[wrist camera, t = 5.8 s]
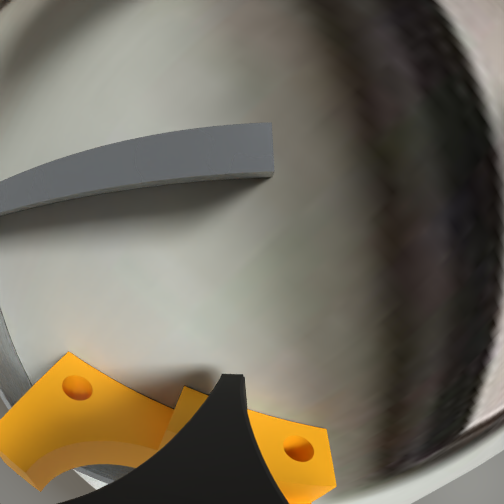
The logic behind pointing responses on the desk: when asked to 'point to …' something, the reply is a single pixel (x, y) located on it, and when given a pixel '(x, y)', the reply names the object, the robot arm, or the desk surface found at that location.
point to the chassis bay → (124, 178)
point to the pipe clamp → (139, 431)
